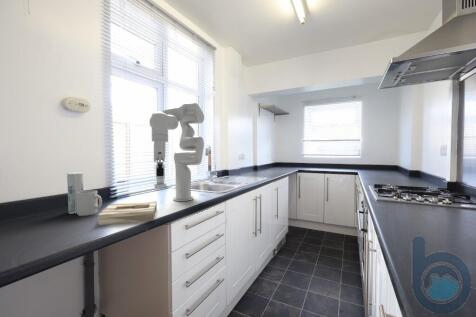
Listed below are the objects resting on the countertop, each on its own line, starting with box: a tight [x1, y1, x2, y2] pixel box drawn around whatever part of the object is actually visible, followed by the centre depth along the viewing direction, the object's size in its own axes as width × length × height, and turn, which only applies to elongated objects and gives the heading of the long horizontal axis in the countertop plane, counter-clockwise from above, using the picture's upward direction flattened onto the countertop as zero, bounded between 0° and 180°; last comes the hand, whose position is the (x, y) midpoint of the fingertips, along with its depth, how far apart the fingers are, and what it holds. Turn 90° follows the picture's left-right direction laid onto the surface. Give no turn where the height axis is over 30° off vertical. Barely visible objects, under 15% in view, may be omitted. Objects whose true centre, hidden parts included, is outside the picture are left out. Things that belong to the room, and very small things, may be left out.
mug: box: [76, 189, 103, 217], centre depth 108 cm, size 12×8×11 cm
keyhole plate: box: [97, 201, 158, 226], centre depth 103 cm, size 18×22×4 cm
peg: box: [153, 164, 167, 189], centre depth 106 cm, size 6×6×11 cm
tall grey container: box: [66, 171, 84, 215], centre depth 110 cm, size 6×6×20 cm
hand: (160, 175), depth 106 cm, fingers closed on peg, 4 cm apart
